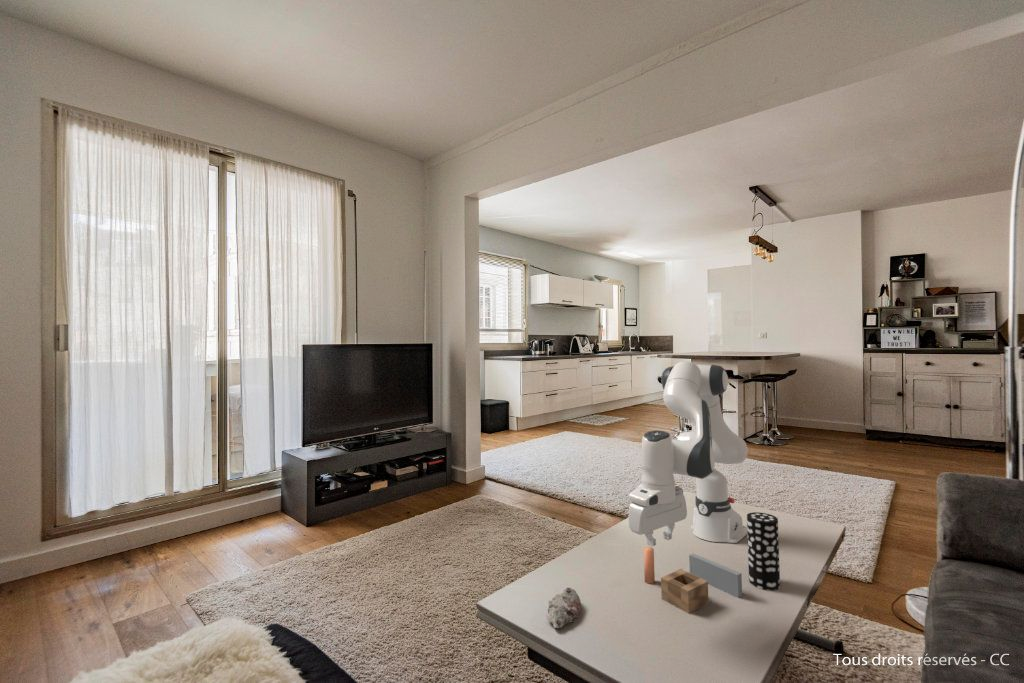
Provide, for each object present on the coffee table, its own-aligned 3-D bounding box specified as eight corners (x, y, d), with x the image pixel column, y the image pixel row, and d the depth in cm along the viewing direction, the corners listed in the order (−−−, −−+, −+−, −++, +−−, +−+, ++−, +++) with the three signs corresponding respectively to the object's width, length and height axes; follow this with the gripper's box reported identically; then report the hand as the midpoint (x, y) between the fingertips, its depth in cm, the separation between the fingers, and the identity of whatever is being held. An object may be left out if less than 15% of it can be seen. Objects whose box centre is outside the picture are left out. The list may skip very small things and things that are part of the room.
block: (681, 589, 137) (680, 568, 137) (708, 602, 130) (707, 581, 130) (661, 598, 132) (660, 577, 132) (688, 613, 125) (688, 591, 125)
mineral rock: (562, 635, 117) (562, 618, 117) (537, 623, 122) (537, 607, 122) (592, 609, 128) (591, 593, 128) (568, 600, 133) (567, 584, 133)
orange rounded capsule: (649, 578, 144) (648, 546, 144) (656, 582, 142) (655, 549, 142) (642, 580, 143) (641, 548, 143) (650, 584, 140) (649, 552, 140)
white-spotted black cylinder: (754, 573, 145) (752, 510, 146) (783, 582, 139) (781, 516, 140) (744, 583, 140) (742, 517, 140) (775, 593, 134) (773, 524, 134)
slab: (693, 573, 146) (693, 553, 146) (742, 595, 133) (741, 573, 133) (689, 575, 145) (689, 554, 145) (738, 597, 132) (737, 575, 132)
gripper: (673, 482, 134) (674, 529, 134) (623, 495, 123) (625, 547, 123) (691, 487, 129) (693, 536, 129) (642, 502, 118) (644, 556, 118)
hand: (659, 542), depth 126 cm, fingers open, 5 cm apart
